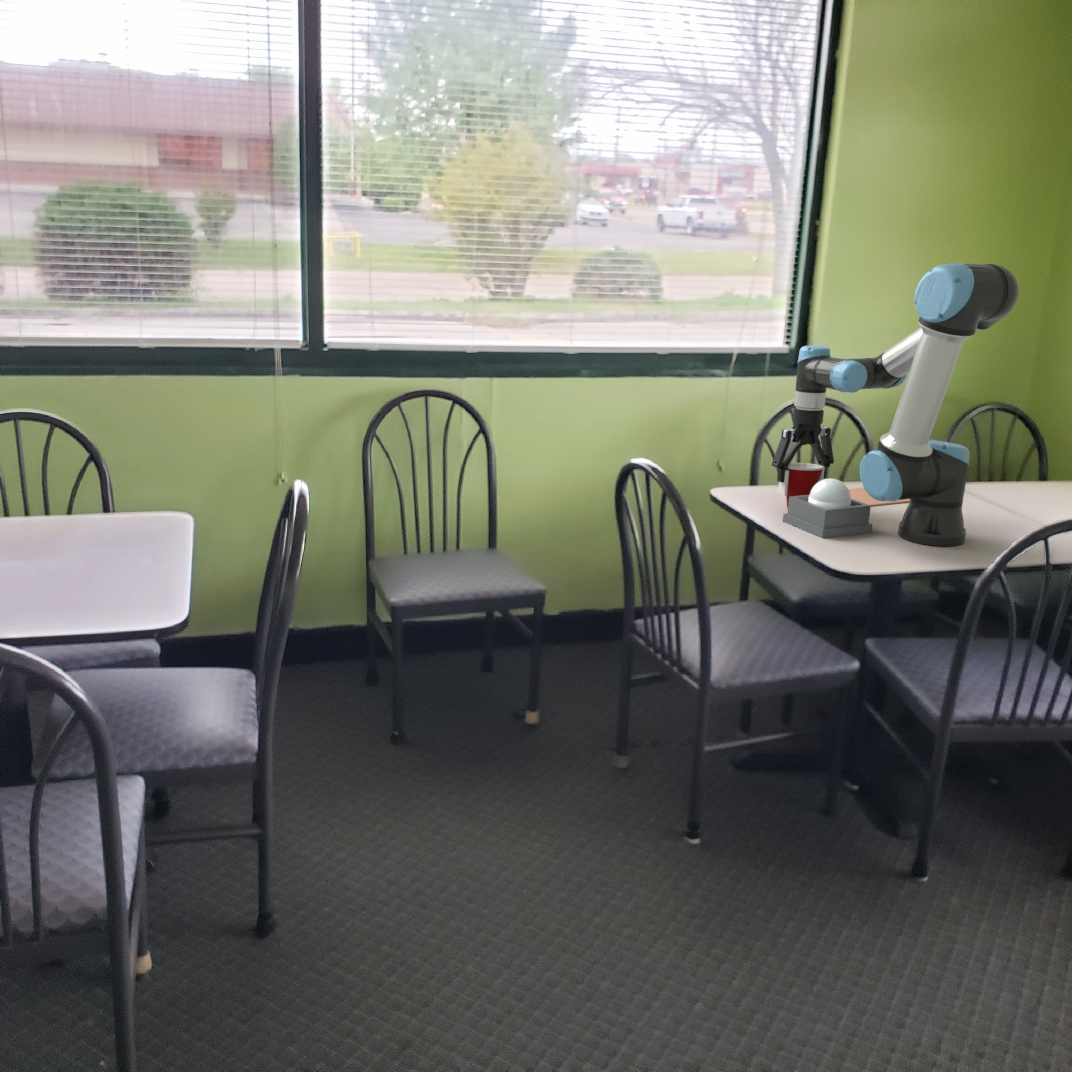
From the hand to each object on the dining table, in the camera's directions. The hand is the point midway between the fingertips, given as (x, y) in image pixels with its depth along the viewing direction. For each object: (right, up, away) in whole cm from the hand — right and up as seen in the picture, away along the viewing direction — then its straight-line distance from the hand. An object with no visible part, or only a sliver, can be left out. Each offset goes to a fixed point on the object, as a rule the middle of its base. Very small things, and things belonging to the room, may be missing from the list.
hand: (800, 492), depth 265 cm
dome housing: (+3, -9, -14) cm, 17 cm away
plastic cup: (0, -4, +1) cm, 5 cm away
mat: (+24, 0, +16) cm, 29 cm away
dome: (+3, -7, -15) cm, 17 cm away
